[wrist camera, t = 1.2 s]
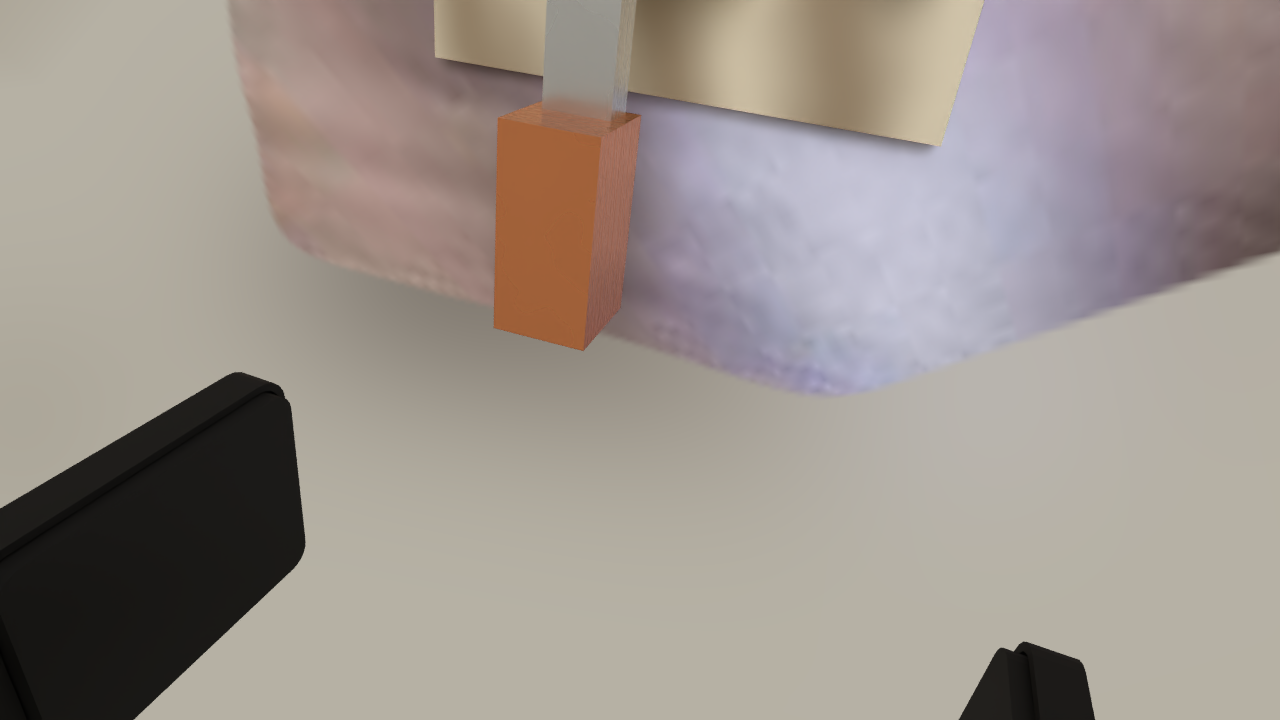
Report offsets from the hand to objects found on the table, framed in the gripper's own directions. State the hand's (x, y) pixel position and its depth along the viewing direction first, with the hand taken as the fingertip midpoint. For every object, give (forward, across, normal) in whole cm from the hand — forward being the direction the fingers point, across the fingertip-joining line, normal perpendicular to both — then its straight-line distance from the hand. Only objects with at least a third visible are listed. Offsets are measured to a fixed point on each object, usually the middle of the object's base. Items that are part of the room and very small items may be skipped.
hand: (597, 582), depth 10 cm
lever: (+14, +6, -4) cm, 16 cm away
